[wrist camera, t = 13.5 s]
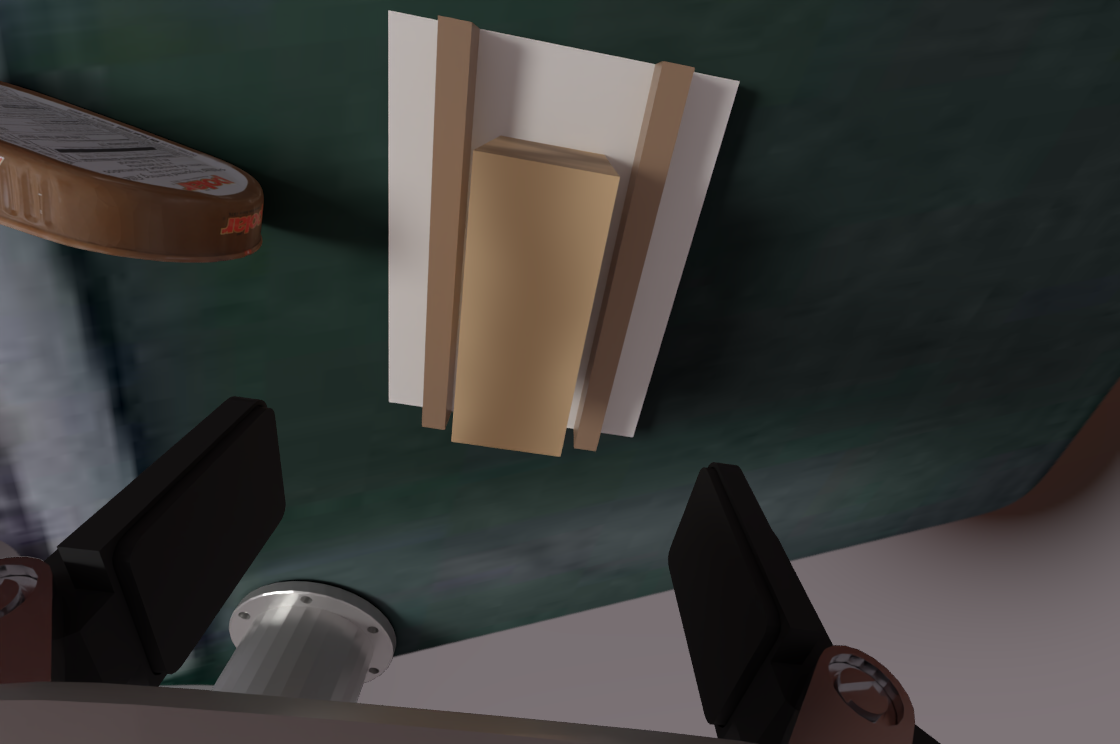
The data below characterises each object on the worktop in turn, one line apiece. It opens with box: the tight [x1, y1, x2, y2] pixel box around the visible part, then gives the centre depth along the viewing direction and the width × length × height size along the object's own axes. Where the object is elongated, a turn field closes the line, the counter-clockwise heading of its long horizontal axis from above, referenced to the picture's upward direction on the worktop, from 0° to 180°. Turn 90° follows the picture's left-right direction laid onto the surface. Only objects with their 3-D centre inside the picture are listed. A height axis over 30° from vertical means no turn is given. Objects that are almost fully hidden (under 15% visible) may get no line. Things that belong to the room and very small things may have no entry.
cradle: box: [388, 10, 740, 451], centre depth 23 cm, size 18×14×3 cm
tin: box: [0, 81, 264, 262], centre depth 19 cm, size 15×3×8 cm, turn 70°
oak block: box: [451, 136, 620, 457], centre depth 20 cm, size 4×11×7 cm, turn 170°
